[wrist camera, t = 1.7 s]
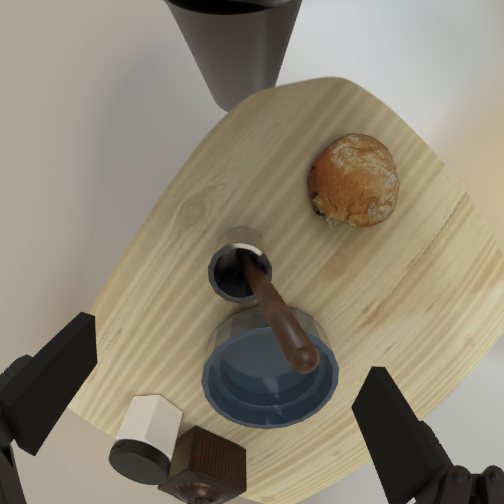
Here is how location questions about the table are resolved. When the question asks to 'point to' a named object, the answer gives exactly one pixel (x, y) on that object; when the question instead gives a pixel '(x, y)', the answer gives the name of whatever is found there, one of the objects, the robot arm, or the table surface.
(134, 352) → the table surface
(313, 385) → the bowl
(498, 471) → the robot arm
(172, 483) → the manual coffee grinder
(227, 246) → the holder
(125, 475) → the jar
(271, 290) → the stick
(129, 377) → the table surface
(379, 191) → the bread roll
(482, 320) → the table surface
